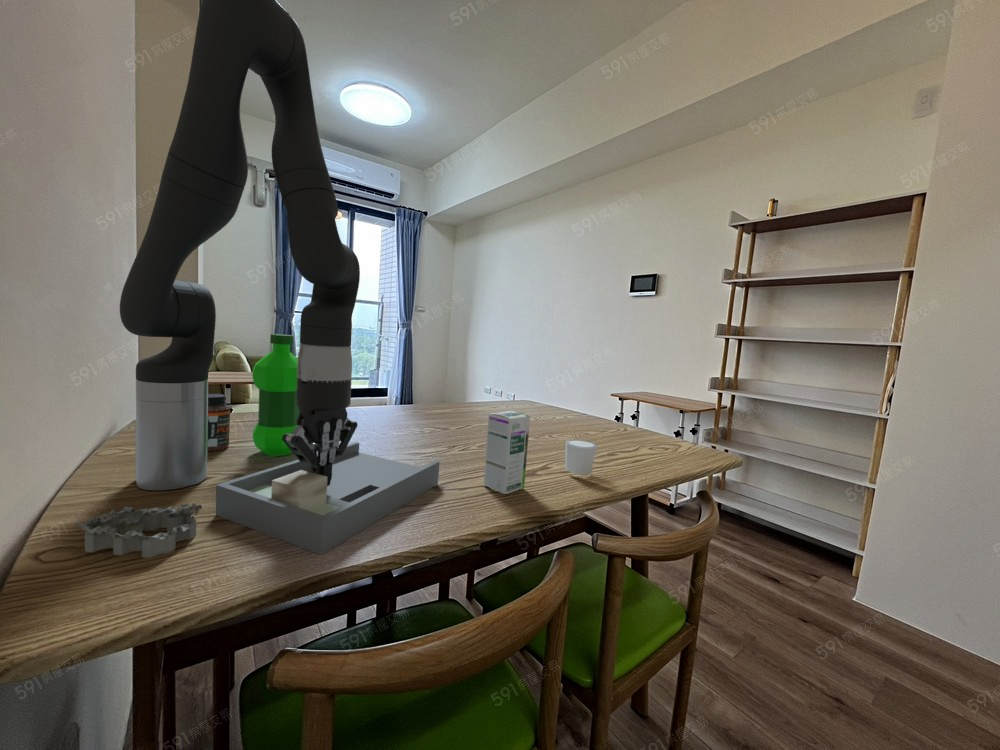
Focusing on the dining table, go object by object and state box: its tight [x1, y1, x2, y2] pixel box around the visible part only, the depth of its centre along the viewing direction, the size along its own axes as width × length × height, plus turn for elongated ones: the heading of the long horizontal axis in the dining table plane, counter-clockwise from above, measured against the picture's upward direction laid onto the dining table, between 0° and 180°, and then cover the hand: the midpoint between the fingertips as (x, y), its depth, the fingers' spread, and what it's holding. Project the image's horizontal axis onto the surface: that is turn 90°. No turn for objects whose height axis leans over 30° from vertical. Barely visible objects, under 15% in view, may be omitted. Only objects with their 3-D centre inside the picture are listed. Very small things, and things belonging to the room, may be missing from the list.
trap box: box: [215, 441, 440, 556], centre depth 67 cm, size 20×28×4 cm
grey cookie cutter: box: [75, 503, 203, 559], centre depth 50 cm, size 11×8×4 cm
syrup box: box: [483, 410, 531, 495], centre depth 77 cm, size 6×6×14 cm
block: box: [271, 470, 327, 511], centre depth 58 cm, size 5×5×4 cm
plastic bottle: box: [251, 333, 300, 457], centre depth 85 cm, size 10×10×25 cm
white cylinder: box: [564, 439, 598, 475], centre depth 89 cm, size 7×7×7 cm
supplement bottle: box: [207, 393, 231, 452], centre depth 85 cm, size 6×6×11 cm
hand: (320, 486), depth 63 cm, fingers closed
